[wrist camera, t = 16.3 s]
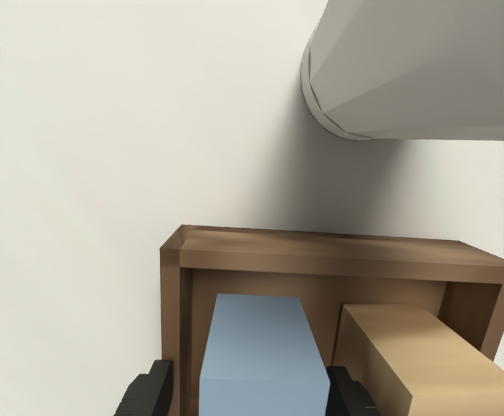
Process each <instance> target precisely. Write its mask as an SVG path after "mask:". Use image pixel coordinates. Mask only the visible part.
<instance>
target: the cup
mask: <svg viewBox="0 0 504 416" xmlns="http://www.w3.org/2000/svg"><path fill="white" fill-rule="evenodd" d="M301 83H302V90H303V94H304V98H305V101H306V103H307V105H308V108H309V109H310V111H311V113H312V114H313V116H314V117H315V119H316V120H317V121H318V122H319V123H320V124H321V125H322V126H323V127H324V128H325V129H327V130H328V131H330V132H331V133H333V134H335V135H337V136H339V137H342V138H346V139H350V140H370V139H435V140H497V141H504V0H329V1H328V3H327V6H326V8H325V10H324V13H323V15H322V17H321V18H320V20H319V22H318V24H317V26H316V27H315V29H314V31H313V33H312V35H311V37H310V39H309V41H308V43H307V46H306V49H305V52H304V55H303V60H302V67H301Z"/></svg>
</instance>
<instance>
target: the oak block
mask: <svg viewBox="0 0 504 416" xmlns="http://www.w3.org/2000/svg"><path fill="white" fill-rule="evenodd" d="M333 366H344V367H346V369H347V370H348V373H349V375H350V377H351V379H352V381H359V382H360V383H361V384H362V385H363V386H364V387H365V388H366V390H367V391H368V392H369V393H370V395H371V397H372V399H373V401H374V403H375V404H376V407H377V409H378V410H379V412H380V414H381V416H504V371H503V370H502V369H501V368H500V367H498V366H497V365H496V364H495V363H493V362H492V361H491V360H489V359H488V358H487V357H486V356H484V355H483V354H482V353H481V352H479V351H478V350H477V349H476V348H474V347H473V346H472V345H470V344H469V343H468V342H467V341H465V340H464V339H463V338H462V337H460V336H459V335H458V334H456V333H455V332H454V331H453V330H451V329H450V328H449V327H448V326H446V325H445V324H444V323H443V322H441V321H440V320H439V319H437V318H436V317H435V316H434V315H432V314H431V313H430V312H429V311H427V310H426V309H425V308H423V307H422V306H421V305H420V304H343V308H342V314H341V320H340V326H339V332H338V338H337V344H336V350H335V357H334V363H333Z"/></svg>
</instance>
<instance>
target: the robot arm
mask: <svg viewBox="0 0 504 416" xmlns="http://www.w3.org/2000/svg"><path fill="white" fill-rule="evenodd" d="M326 372H327V375H328V378H329V381H330V388H329V394H328V399H327V405H326V411H325V413H326V416H381V414H380V412H379V410H378V409H377V407H376V404H375V403H374V401H373V399H372V397H371V395H370V393H369V392H368V391H367V390H366V388H365V387H364V386H363V385H362V384H361V383H360V382H359V381H352V379H351V377H350V375H349V373H348V370H347V369H346V367H344V366H327V368H326ZM173 388H174V380H173V360H155V361H154V363H153V365H152V367H151V370H150V372H149V374H139V375H138V376H137V377H136V379H135V380H134V381H133V382H132V383H131V384H130V385H129V386H128V388H127V390H126V392H125V394H124V396H123V398H122V402H120V404H119V406H118V408H117V410H116V414H114V416H168V412H169V409H170V405H171V401H172V396H173Z"/></svg>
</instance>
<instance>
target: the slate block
mask: <svg viewBox="0 0 504 416" xmlns="http://www.w3.org/2000/svg"><path fill="white" fill-rule="evenodd" d="M329 388H330V381H329V378H328V375H327V372H326V370H325V367H324V364H323V361H322V359H321V356H320V353H319V351H318V348H317V345H316V342H315V340H314V337H313V334H312V332H311V329H310V326H309V323H308V321H307V318H306V315H305V312H304V310H303V307H302V304H301V302H300V299H299V297H280V296H259V295H239V294H217V298H216V303H215V308H214V313H213V317H212V322H211V327H210V332H209V336H208V341H207V346H206V351H205V356H204V360H203V365H202V370H201V375H200V387H199V416H325V411H326V405H327V399H328V394H329Z"/></svg>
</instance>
